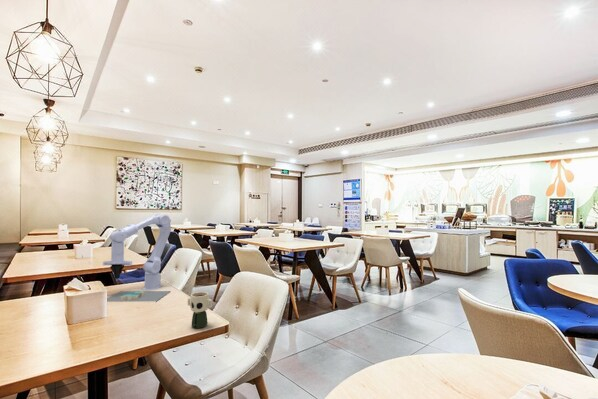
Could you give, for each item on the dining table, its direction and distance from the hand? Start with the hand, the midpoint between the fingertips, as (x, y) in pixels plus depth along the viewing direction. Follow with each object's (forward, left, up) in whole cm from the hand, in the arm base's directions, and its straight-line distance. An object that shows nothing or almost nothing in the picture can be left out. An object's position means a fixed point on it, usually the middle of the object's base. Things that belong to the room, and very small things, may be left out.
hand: (117, 278), depth 161 cm
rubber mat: (+2, +12, -9) cm, 15 cm away
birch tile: (+4, +7, -8) cm, 11 cm away
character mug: (+41, +57, -10) cm, 71 cm away
